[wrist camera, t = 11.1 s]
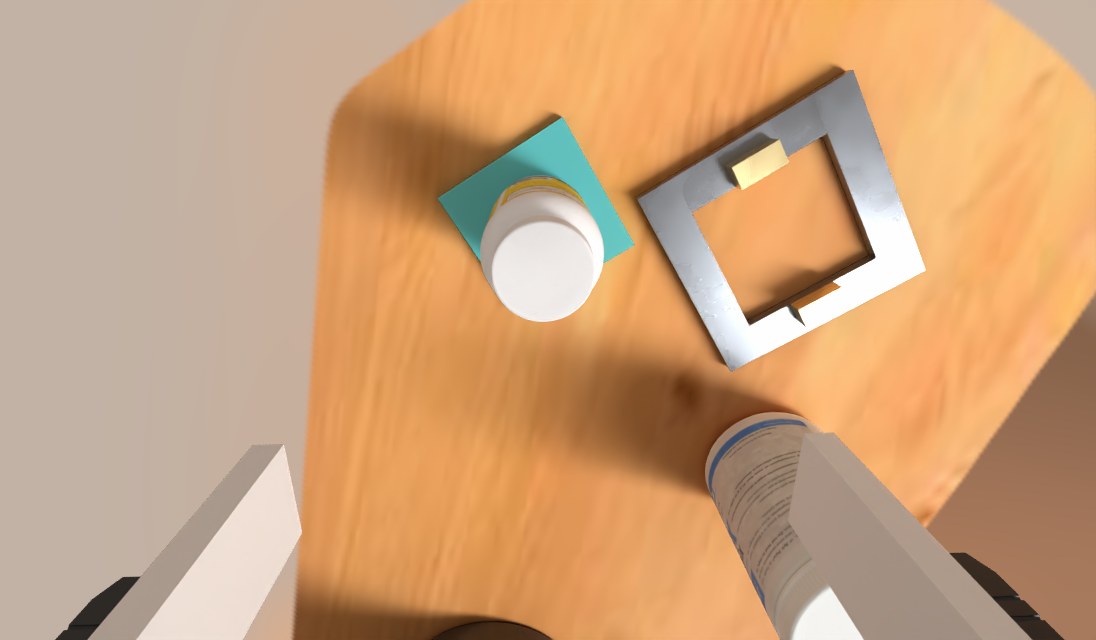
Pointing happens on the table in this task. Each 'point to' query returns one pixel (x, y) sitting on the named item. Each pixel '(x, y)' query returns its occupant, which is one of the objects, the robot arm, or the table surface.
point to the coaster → (534, 156)
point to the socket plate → (752, 158)
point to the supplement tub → (773, 524)
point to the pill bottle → (541, 249)
